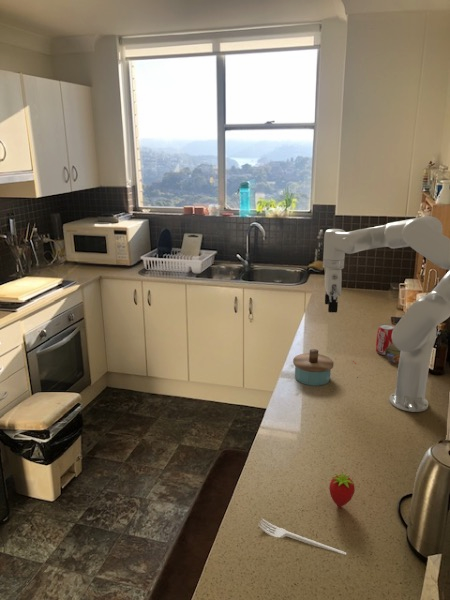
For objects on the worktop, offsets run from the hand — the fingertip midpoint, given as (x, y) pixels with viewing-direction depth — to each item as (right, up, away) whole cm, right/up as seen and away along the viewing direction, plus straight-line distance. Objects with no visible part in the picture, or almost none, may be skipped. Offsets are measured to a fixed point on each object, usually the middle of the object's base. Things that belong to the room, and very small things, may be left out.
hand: (330, 308), depth 179 cm
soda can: (+29, -20, +26) cm, 44 cm away
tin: (+33, -23, +16) cm, 44 cm away
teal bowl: (-6, -27, +3) cm, 28 cm away
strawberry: (-12, -48, -62) cm, 79 cm away
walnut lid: (-6, -22, +2) cm, 23 cm away
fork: (-23, -51, -72) cm, 91 cm away
